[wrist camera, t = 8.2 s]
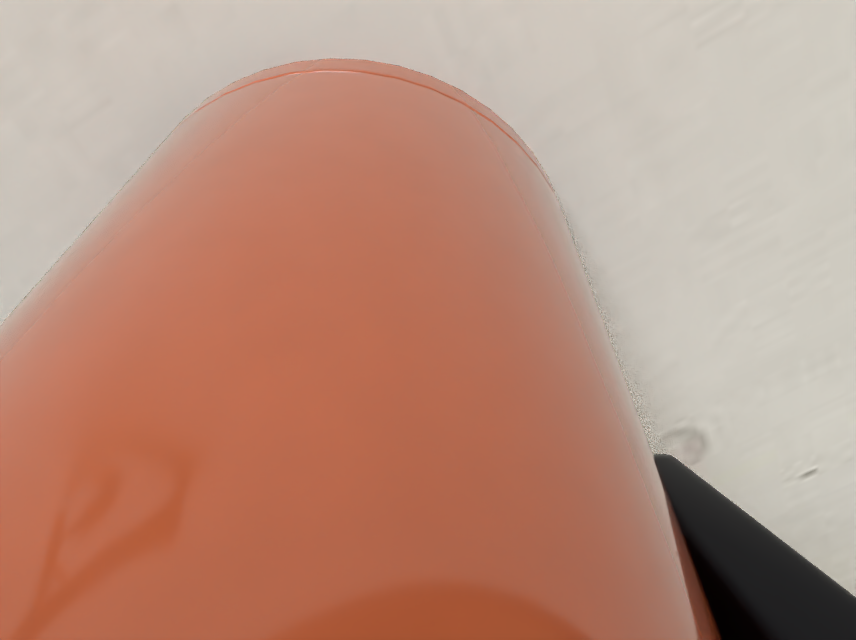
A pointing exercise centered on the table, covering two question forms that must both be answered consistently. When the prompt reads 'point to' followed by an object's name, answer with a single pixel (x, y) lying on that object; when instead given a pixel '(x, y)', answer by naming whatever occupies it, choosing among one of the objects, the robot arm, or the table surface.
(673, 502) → the robot arm
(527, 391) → the cup
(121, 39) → the table surface
